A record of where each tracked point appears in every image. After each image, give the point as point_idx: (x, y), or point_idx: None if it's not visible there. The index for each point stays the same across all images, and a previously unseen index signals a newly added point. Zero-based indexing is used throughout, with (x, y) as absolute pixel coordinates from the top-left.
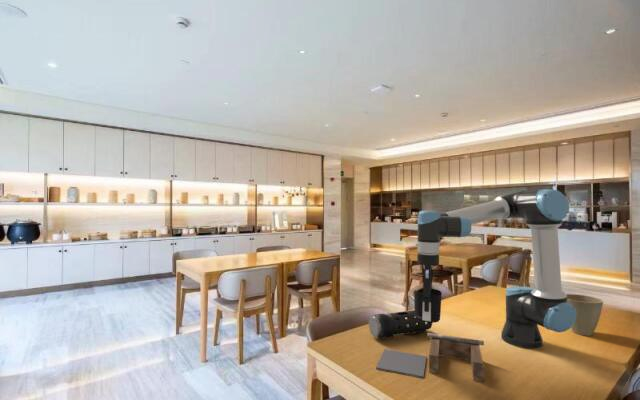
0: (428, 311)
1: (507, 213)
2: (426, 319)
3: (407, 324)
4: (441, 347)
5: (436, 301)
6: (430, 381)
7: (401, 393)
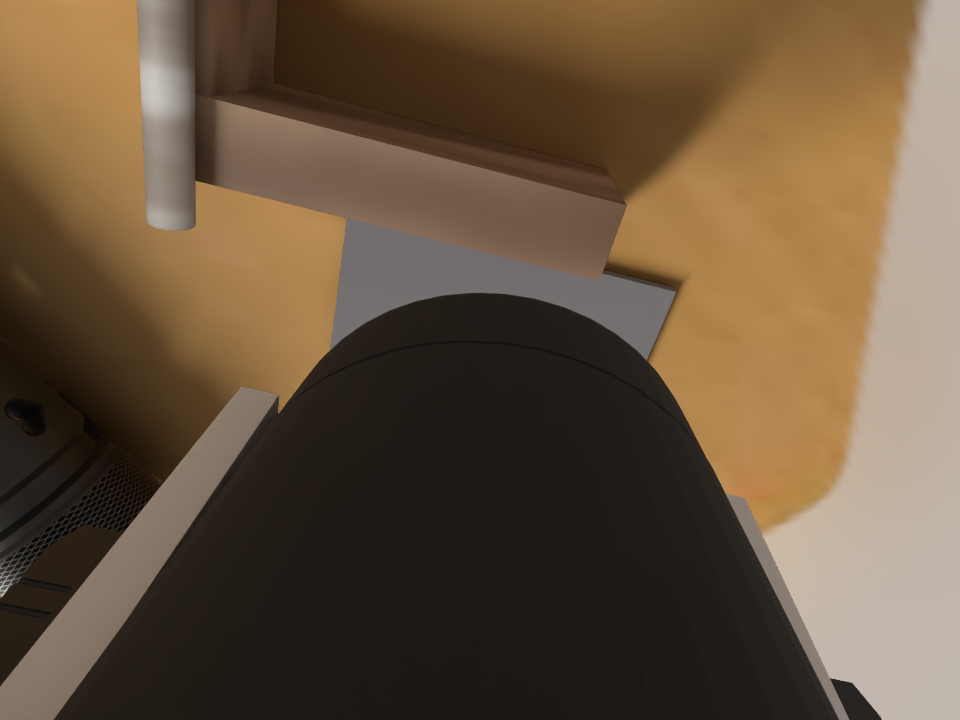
0: (859, 697)
1: None
2: None
3: None
4: (243, 68)
5: None
6: (717, 248)
7: (841, 431)
